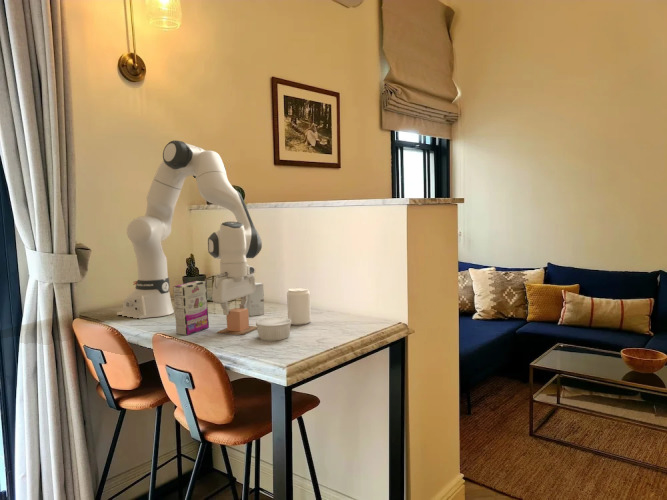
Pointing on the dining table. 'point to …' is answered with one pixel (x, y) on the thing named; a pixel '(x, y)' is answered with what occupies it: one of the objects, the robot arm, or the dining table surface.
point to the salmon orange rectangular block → (238, 319)
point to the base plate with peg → (250, 329)
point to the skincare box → (256, 301)
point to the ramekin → (273, 328)
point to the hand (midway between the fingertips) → (235, 311)
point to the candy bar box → (191, 307)
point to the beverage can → (299, 306)
